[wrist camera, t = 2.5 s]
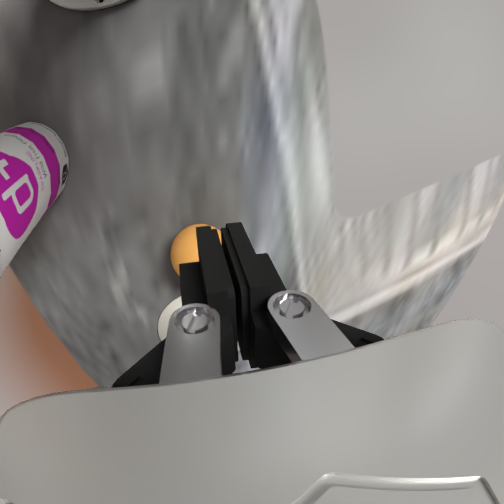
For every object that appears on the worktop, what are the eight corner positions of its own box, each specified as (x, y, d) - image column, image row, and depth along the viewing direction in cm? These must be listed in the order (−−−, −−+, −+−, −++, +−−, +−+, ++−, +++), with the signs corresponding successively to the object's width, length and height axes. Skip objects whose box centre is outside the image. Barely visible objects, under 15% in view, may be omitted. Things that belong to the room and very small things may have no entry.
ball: (166, 217, 29) (166, 246, 25) (224, 211, 30) (235, 238, 26) (173, 266, 32) (175, 300, 27) (226, 260, 33) (237, 292, 28)
